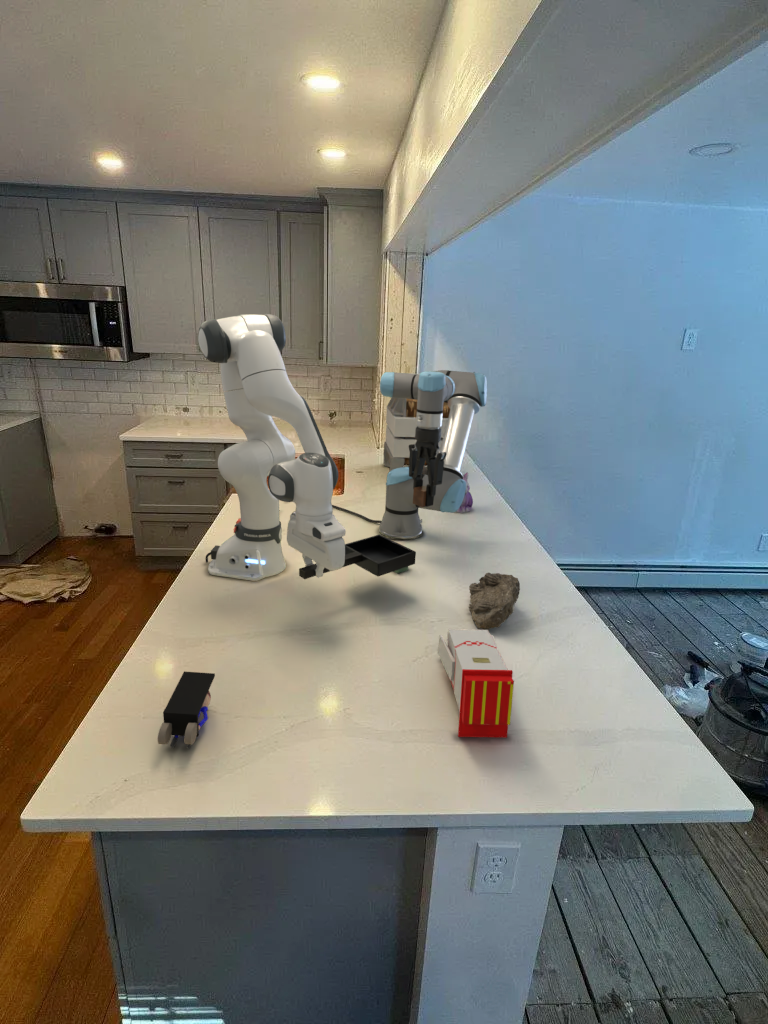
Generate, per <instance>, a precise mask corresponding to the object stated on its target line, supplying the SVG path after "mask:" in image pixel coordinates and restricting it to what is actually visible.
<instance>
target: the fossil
mask: <svg viewBox="0 0 768 1024" xmlns="http://www.w3.org/2000/svg"><path fill="white" fill-rule="evenodd" d="M478 581H479V582H477V583H476V582H473V583H470V585H469V588H468V589H469V595H470V596H469V598H470V600H469V601H470V603H469V604H468V609H469V612H470V613H471V619H472V620H473V622H474V624H475V626H476V628H477V629H481V630H491V629H495V628H500V627H501V626H502V624H504V623H505V622H506V621H507V619H509V618H510V616H511V615H512V614H513V613H514V611H515V606H516V603H517V601H518V599H519V595H520V592H521V591H520V590H521V585H520V581H519V578H518V577H515V576H514V575H513V574H508V573H507V574H505V573H503V574H502V573H500V572H496V573H491V572H486V573H485V574H484V576H481V577H480V578H479V579H478Z"/></svg>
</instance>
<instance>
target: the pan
mask: <svg viewBox="0 0 768 1024" xmlns="http://www.w3.org/2000/svg"><path fill="white" fill-rule="evenodd" d="M416 556H417V551H415V550H413V549H411V548H409V547H407V546H404V545H403V544H400V542H397V541H394V540H393V539H390V538H387V537H384V536H383V535H381V534H380V533H379V534H376V535H373V536H369V537H366V538H361V539H358V540H355V541H352V542H347V543H345V563H344V566H343V567H342V568H346V567H348V566H351V565H356V566H358V567H359V568H362V569H363V570H365V571H367V572H369V573H370V574H373V575H374V576H375V577H381V576H384V575H387V574H390V573H392V572H393V571H396V570H399V569H402V568H404V567H407V566H408V567H409V566H413V565H416ZM316 568H317V565H316V563H313V565H310V566H306V567H305V566H303V567H300V568H299V569H298V576H299V577H300V578H301V579H304V580H308V579H311V578H313V577H316V576H315V575H314V569H316ZM329 572H331V571H330V570H328V569H327V568H324V570H323V574H326V573H329Z"/></svg>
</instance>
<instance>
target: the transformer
mask: <svg viewBox="0 0 768 1024" xmlns="http://www.w3.org/2000/svg"><path fill="white" fill-rule="evenodd" d="M449 413H450V408H449V407H448V403H445V402H444V403H443V416H442V426H441V427H440V428H441V440H440V441H439V450H440V448H441V444H442V440H443V436H444V432H445V428H446V424H447V420H448V417H449ZM385 414H386V415H385V423H386V428H385V438H384V442H383V466H384V467H388V468H389V472H390V471H391V470H393V469H397V468H402V467H405V466H406V467H409V458H410V451H409V445H411V444H416V441H417V440H416V439H415V430H416V427H417V425H416V416H417V400H415V399H405V398H393V397H392V398H391V397H390V400H389V402H388V404H387V405H386V413H385ZM436 455H437V454H436ZM430 460H431V459H430ZM424 467H427V463H426V460H425V464H424ZM460 472H461V473H462V469H461V470H460Z"/></svg>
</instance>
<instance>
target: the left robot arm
mask: <svg viewBox="0 0 768 1024" xmlns="http://www.w3.org/2000/svg"><path fill="white" fill-rule="evenodd" d="M197 342H198V346H199V349H200V352H201V353H202V355H203V357H204V358H205V359H206V360H208V361H209V362H211V363H215V364H216V363H217V364H219V368H220V380H221V387H222V391H223V397H224V401H225V405H226V406H225V407H226V410H227V415H228V419H229V421H230V422H231V423H232V424H233V425H234V426H237V427H239V428H240V429H241V430H242V432H243V433H244V435H245V437H246V440H245V441H241V442H238V443H235V444H233V445H231V446H228V447H227V448H226V449H224V450H222V451H221V452H220V453H219V455H218V458H217V469H218V472H219V474H220V476H221V477H222V478H223V480H224V481H225V482H227V483H229V484H230V485H231V486H232V487H233V488H234V490H235V493H236V495H237V498H238V501H239V513H240V517H239V518H238V519H237V520H236V521H235V524H234V527H233V534H232V536H230V537H229V538H227V539H226V540H224V541H223V542H222V543H221V544H220V545H214V547H212V549H211V550H210V551H209V552H208V553H206V555H205V558H204V559H205V563H206V564H208V563H209V564H208V567H207V572H208V574H209V575H211V576H218V577H225V578H230V579H231V578H232V579H239V580H245V581H252V582H258V581H260V580H263V579H264V578H267V577H272V576H275V575H278V574H281V573H282V572H283V571H285V570H286V568H287V563H286V561H285V556H284V553H283V548H282V539H283V528H282V522H281V519H280V511H279V510H280V501H281V502H285V503H294V504H295V511H293V512H291V514H290V515H289V520H288V522H287V527H286V528H287V529H286V542H287V545H288V546H289V547H291V548H292V549H294V550H295V551H297V552H299V553H300V554H302V555H301V557H302V559H303V563H304V567H306V566H310V565H313V564H314V563H313V561H314V562H315V564H316V565H317V568H316V569H314V575H315V576H314V577H316V578H318V579H319V578H322V577H323V576H324V573H323V570H324V568H327V569H328V570H330V572H335V571H338V570H340V569H342V568H344V567H343V566H344V563H345V544H346V543H345V539H344V538H343V537H345V536H346V532H347V531H346V528H345V526H344V525H343V524H342V523H341V522H340V521H339V520H338V519H337V517H336V515H335V514H334V508H333V507H332V505H333V504H332V497H333V494H334V489H335V488H336V486H337V485H338V481H339V469H338V467H337V465H336V463H335V461H334V460H333V458H332V456H331V454H330V453H329V450H328V447H327V446H326V443H325V441H324V439H323V437H322V434H321V432H320V429H319V427H318V424H317V422H316V420H315V417H314V414H313V413H312V410H311V408H310V406H309V404H308V402H307V400H306V399H305V398H304V396H302V395H301V394H299V393H298V392H297V390H296V389H295V387H294V386H293V384H292V383H291V380H290V379H289V376H288V373H287V369H286V365H285V363H284V359H283V357H282V354H281V352H282V351H283V350H284V349H285V348H286V342H287V336H286V330H285V326H284V323H283V321H282V320H281V318H280V317H278V316H277V315H276V314H271V313H262V314H253V313H251V314H249V313H248V314H238V315H234V316H233V315H232V316H227V317H222V318H218V319H216V318H212V319H208V320H205V321H204V322H202V323H201V324H200V326H199V328H198V335H197ZM273 417H275V418H278V419H280V420H283V421H284V422H287V423H288V424H289V425H290V426H292V428H293V429H294V431H295V433H296V435H297V438H298V439H299V443H300V445H301V447H302V450H303V453H301V454H299V455H298V456H297V458H296V448H295V446H294V444H293V442H292V440H291V439H289V438H288V437H286V436H285V435H284V434H283V433H282V432H281V430H280V429H279V428H278V426H277V424H276V422H275V420H274V419H273ZM209 556H210V559H211V561H210V562H209Z"/></svg>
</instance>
